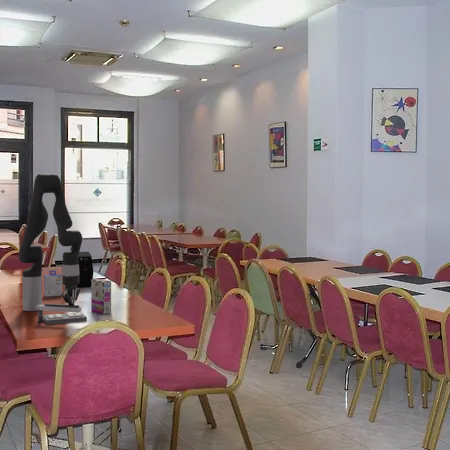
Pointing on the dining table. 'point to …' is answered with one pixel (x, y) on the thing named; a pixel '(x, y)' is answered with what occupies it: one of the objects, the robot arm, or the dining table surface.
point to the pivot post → (40, 316)
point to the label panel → (64, 318)
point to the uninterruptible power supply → (85, 270)
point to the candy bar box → (101, 296)
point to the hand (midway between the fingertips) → (71, 311)
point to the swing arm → (59, 308)
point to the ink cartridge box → (53, 284)
